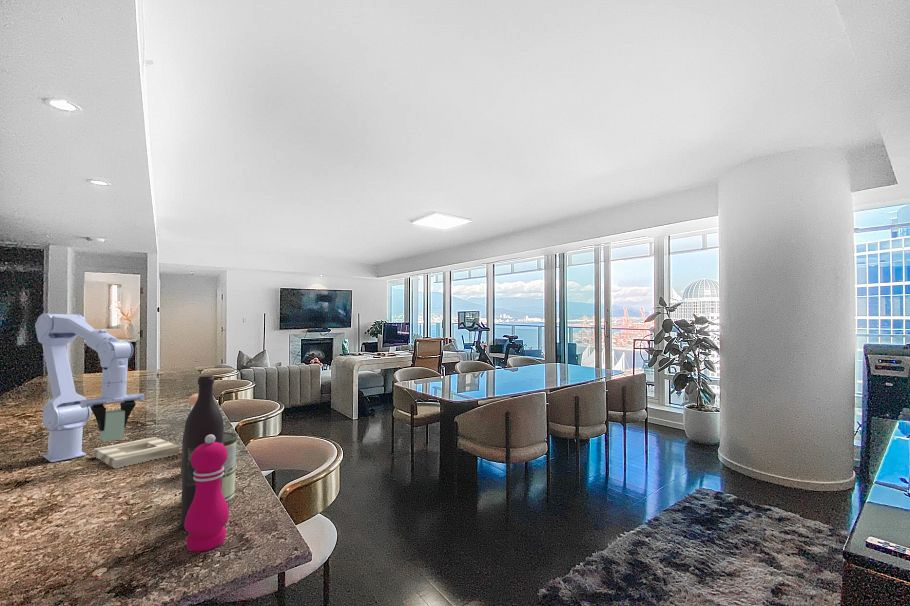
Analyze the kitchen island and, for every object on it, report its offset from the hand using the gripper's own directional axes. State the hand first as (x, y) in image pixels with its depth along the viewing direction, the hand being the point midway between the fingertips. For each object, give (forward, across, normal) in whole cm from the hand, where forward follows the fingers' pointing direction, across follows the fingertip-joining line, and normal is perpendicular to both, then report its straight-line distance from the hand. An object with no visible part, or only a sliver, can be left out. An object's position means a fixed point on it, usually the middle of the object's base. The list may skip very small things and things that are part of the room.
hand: (112, 428), depth 121 cm
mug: (+10, +10, -29) cm, 32 cm away
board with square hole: (+10, +7, +2) cm, 12 cm away
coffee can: (+10, +6, -49) cm, 50 cm away
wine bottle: (+10, -1, -60) cm, 61 cm away
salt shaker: (+10, +20, -9) cm, 24 cm away
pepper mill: (+10, -4, -69) cm, 70 cm away
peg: (+3, 0, 0) cm, 3 cm away
